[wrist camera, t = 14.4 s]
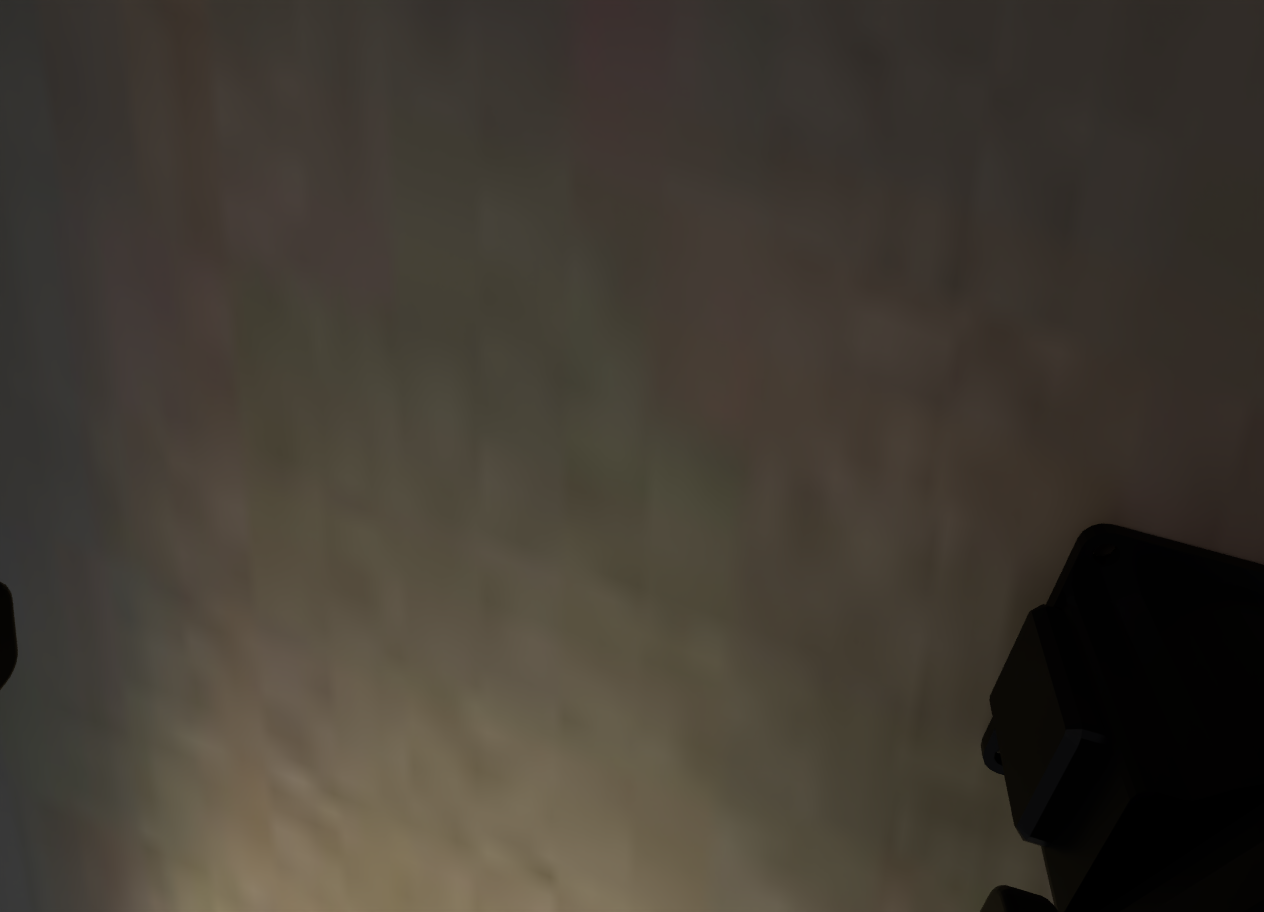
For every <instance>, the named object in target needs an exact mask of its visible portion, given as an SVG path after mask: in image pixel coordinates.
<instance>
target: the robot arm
mask: <svg viewBox="0 0 1264 912" xmlns="http://www.w3.org/2000/svg"><path fill="white" fill-rule="evenodd" d="M1103 544H1113V545H1114V546H1115V549H1114V550H1113V551H1112V552H1111V553H1110V554H1108V555H1105V556H1097V555H1095V554H1093V552H1094V550H1095V549H1096V548H1097V547H1098V546H1100V545H1103ZM17 657H18V647H17V638H16V628H15V618H14V608H13V599H12V594H11V592H10V590H9V589H8V587H7V586H6V585H5V584H3V583H2V582H0V690H1V689H2V687H3V686H4V685H5V684H6V682H7V681H8V679H9V678H10V676H11V674H12V672H13V670H14V668H15V665H16V662H17ZM990 705H991V710H992V715H993V717H992V719H991V721H990V723H989V725H988V728H987V730H986V732H985V734H984V736H983V738H982V742H981V750H982V756H983V760H984V763H985V765H986V766H987V767H988V768H989V769H990V770H992V771H994V772H996V773H998V774H1002V775H1004V776H1005V781H1006V786H1007V791H1008V796H1009V801H1010V806H1011V811H1012V817H1013V822H1014V826H1015V828H1016V829H1017V831H1018V833H1019V834H1020V836H1021V838H1022V840H1023V841H1027V842H1030V843H1034V844H1037V845H1040V846H1041V848H1042V852H1043V857H1044V861H1045V866H1046V870H1047V875H1048V879H1049V884H1050V888H1051V893H1052V897H1053V901H1054V905H1053V904H1052V903H1051V902H1050V901H1049V900H1048V899H1046V898H1044V897H1042V896H1040V895H1037V894H1033V893H1030V892H1027V891H1024V890H1020V889H1017V888H1014V887H1010V886H1007V885H1000V886H997V887H996V888H994V889H993V890H992V891H991V893H990V894H989V896H988V898H987V899H986V901H985V903H984V905H983V907H982V909H981V911H980V912H1264V565H1262V564H1258V563H1254V562H1251V561H1247V560H1243V559H1239V558H1236V557H1232V556H1228V555H1225V554H1221V553H1217V552H1213V551H1210V550H1206V549H1202V548H1198V547H1195V546H1191V545H1187V544H1183V543H1180V542H1176V541H1172V540H1169V539H1165V538H1161V537H1157V536H1154V535H1150V534H1146V533H1142V532H1139V531H1135V530H1131V529H1127V528H1124V527H1120V526H1116V525H1112V524H1097V525H1093V526H1091V527H1089V528H1087V529H1086V530H1084V531H1083V532H1082V533H1081V534H1080V536H1079V537H1078V538H1077V541H1076V543H1075V545H1074V547H1073V549H1072V551H1071V553H1070V555H1069V557H1068V559H1067V562H1066V564H1065V566H1064V568H1063V570H1062V572H1061V574H1060V576H1059V578H1058V580H1057V583H1056V585H1055V587H1054V589H1053V591H1052V593H1051V595H1050V597H1049V599H1048V601H1047V604H1046V605H1044V604H1042V605H1040V606H1038V607H1037V608H1035V609H1033V610H1031V611H1030V612H1029V614H1028V616H1027V618H1026V620H1025V622H1024V624H1023V627H1022V629H1021V631H1020V633H1019V635H1018V637H1017V639H1016V642H1015V644H1014V646H1013V648H1012V650H1011V652H1010V654H1009V656H1008V659H1007V661H1006V663H1005V665H1004V667H1003V669H1002V671H1001V674H1000V676H999V678H998V680H997V682H996V684H995V686H994V688H993V691H992V693H991V695H990ZM998 750H999V751H1000V754H999V753H997V751H998Z"/></svg>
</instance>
